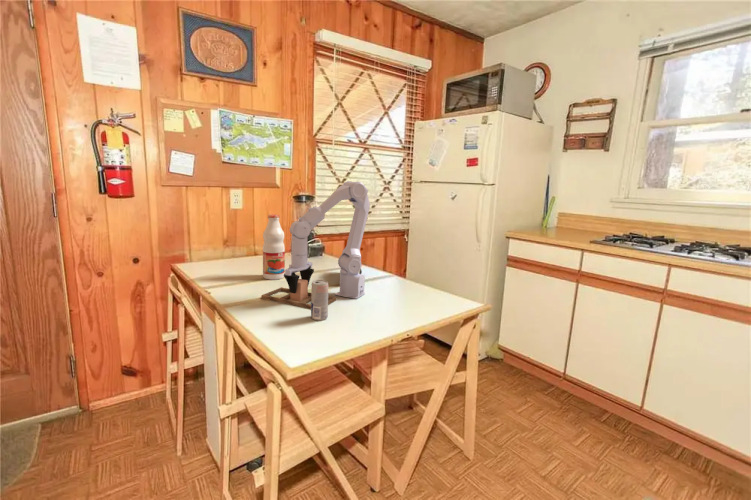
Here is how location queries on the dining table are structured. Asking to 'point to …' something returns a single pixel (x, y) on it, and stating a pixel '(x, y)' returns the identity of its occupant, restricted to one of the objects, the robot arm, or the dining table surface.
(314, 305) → the energy drink
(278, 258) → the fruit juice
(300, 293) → the terracotta block
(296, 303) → the wooden divided frame
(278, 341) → the dining table surface
